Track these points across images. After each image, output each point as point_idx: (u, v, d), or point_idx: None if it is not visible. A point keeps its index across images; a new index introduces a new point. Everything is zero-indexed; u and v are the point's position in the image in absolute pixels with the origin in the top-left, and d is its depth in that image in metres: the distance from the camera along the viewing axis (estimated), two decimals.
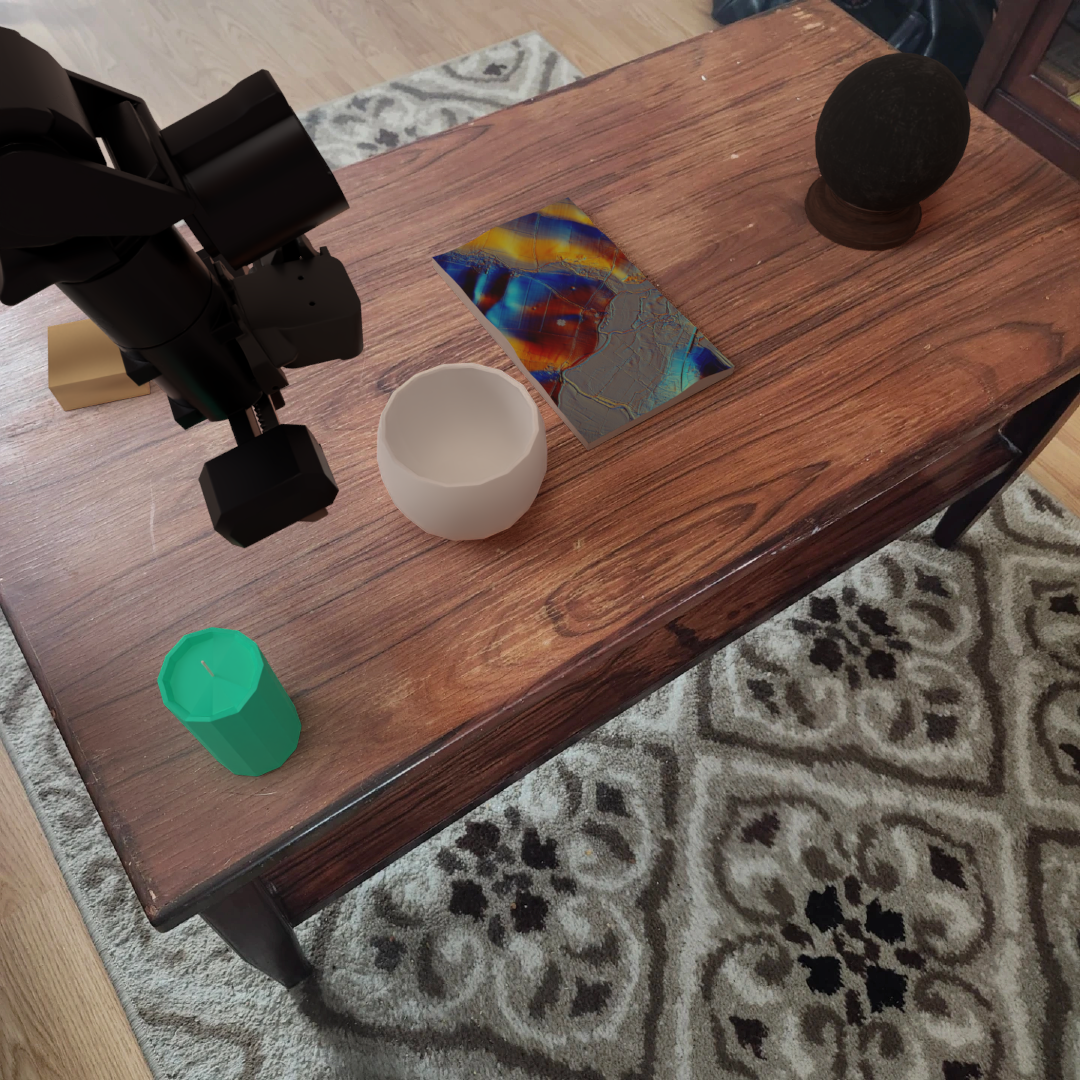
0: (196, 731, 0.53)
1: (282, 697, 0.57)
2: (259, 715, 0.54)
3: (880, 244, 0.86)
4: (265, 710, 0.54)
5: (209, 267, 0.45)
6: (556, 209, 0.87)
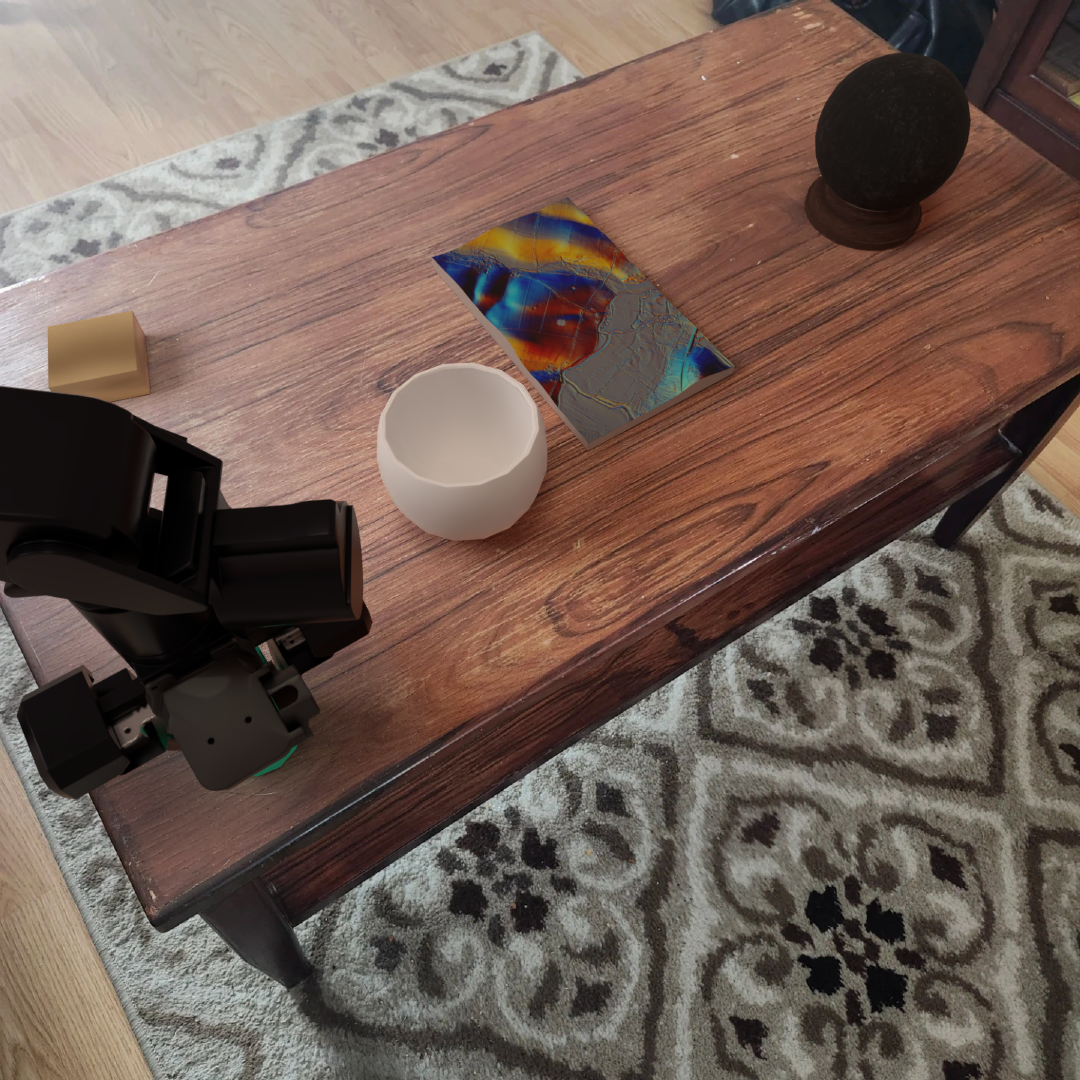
0: None
1: None
2: None
3: (880, 244, 0.86)
4: None
5: (215, 637, 0.45)
6: (556, 209, 0.87)
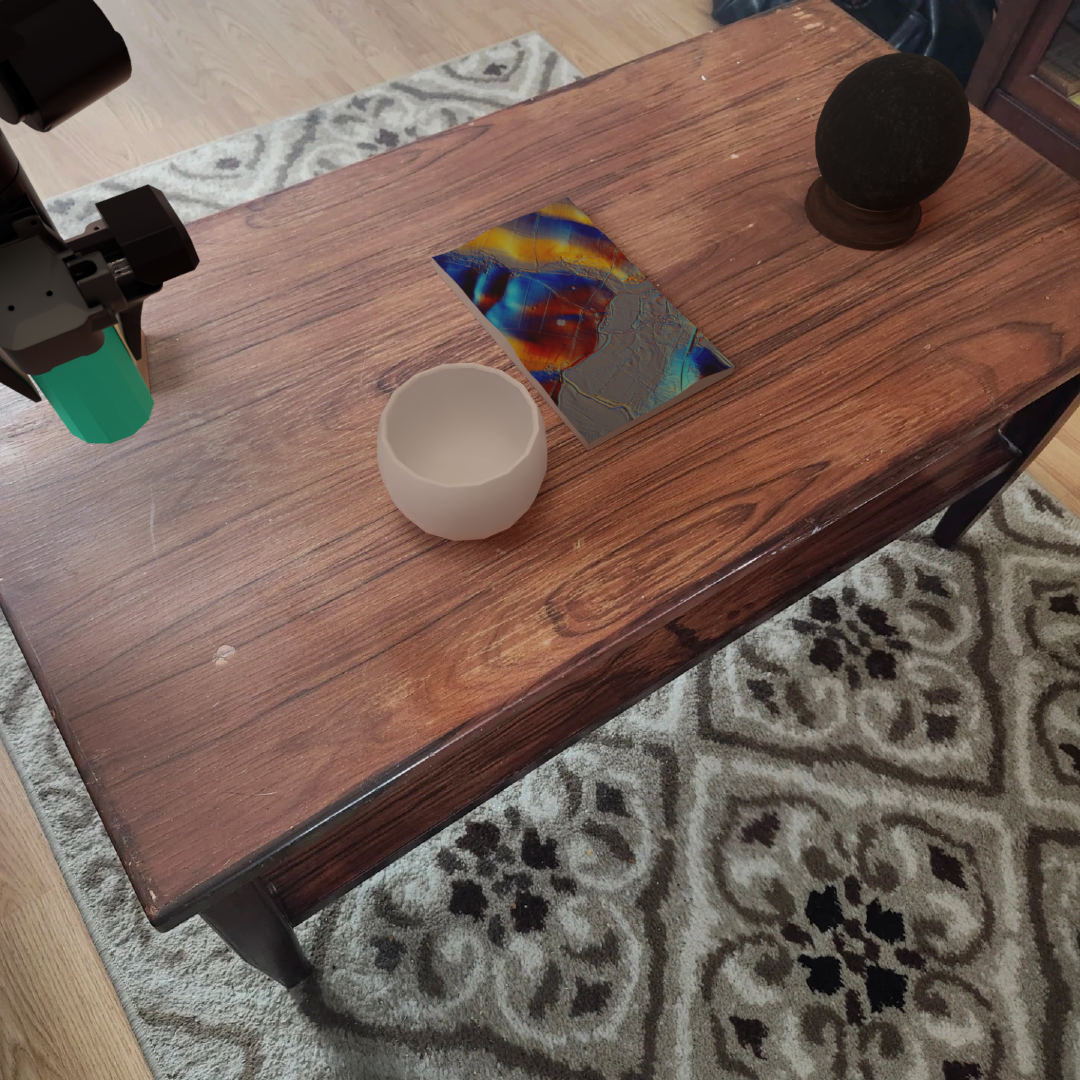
0: None
1: (123, 348, 0.59)
2: None
3: (880, 244, 0.86)
4: None
5: (17, 209, 0.47)
6: (556, 209, 0.87)
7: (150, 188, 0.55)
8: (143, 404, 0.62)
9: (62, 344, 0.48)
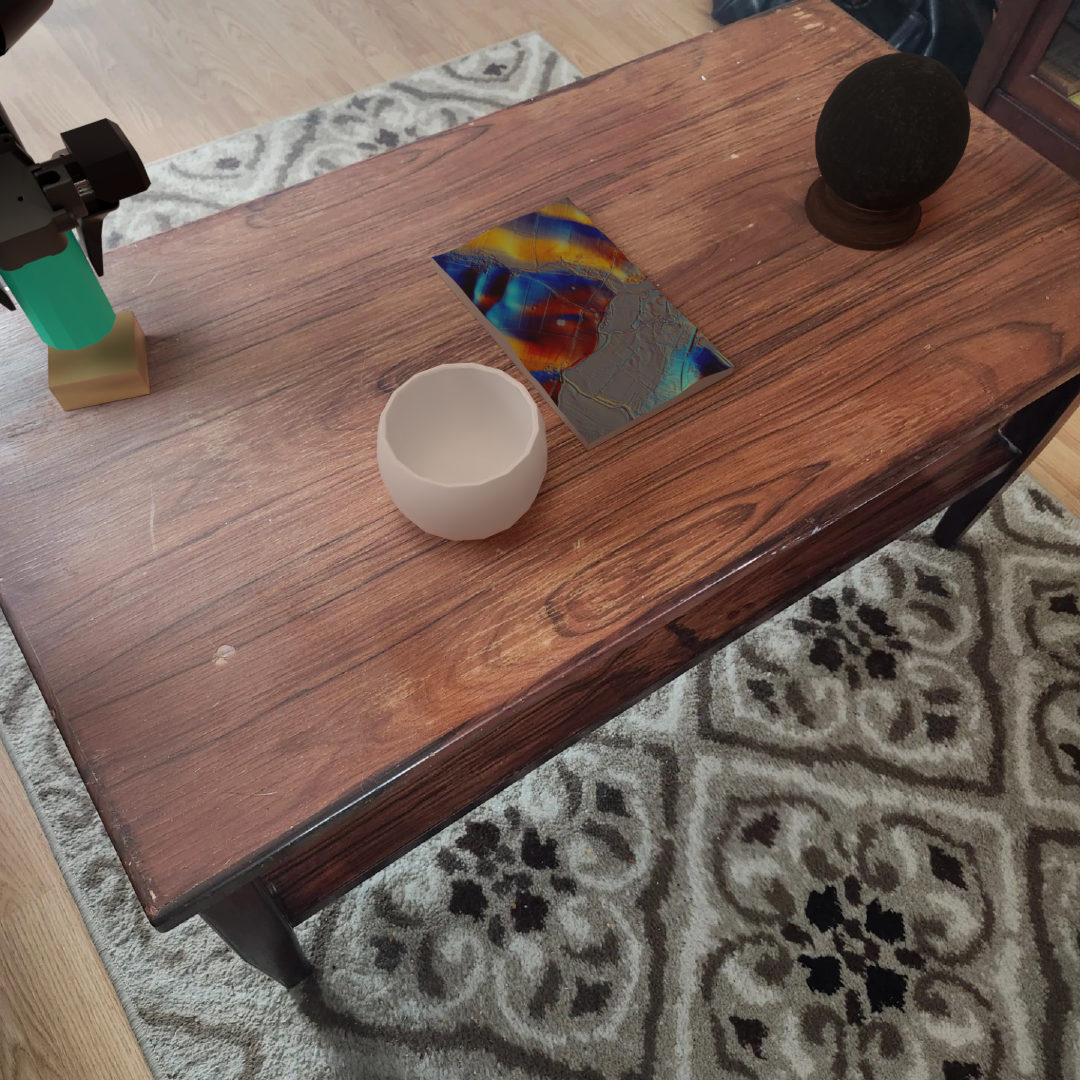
0: None
1: (87, 263, 0.68)
2: (61, 258, 0.65)
3: (880, 244, 0.86)
4: (67, 257, 0.66)
5: None
6: (556, 209, 0.87)
7: (107, 121, 0.65)
8: (106, 315, 0.71)
9: (31, 242, 0.58)
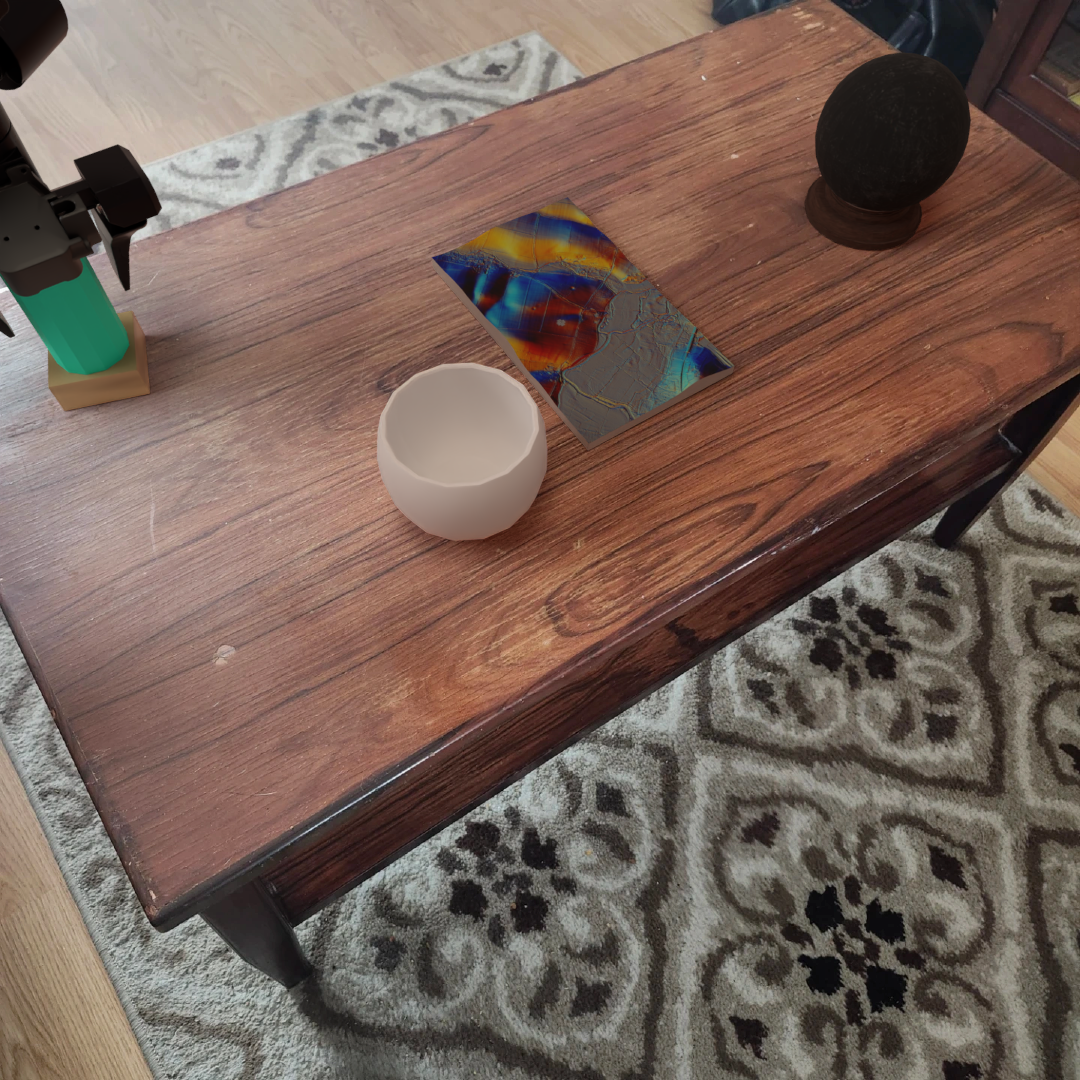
0: (7, 286, 0.67)
1: (93, 310, 0.70)
2: (53, 300, 0.67)
3: (880, 244, 0.86)
4: (61, 301, 0.67)
5: (10, 159, 0.59)
6: (555, 209, 0.87)
7: (119, 147, 0.66)
8: (103, 356, 0.73)
9: (48, 269, 0.59)
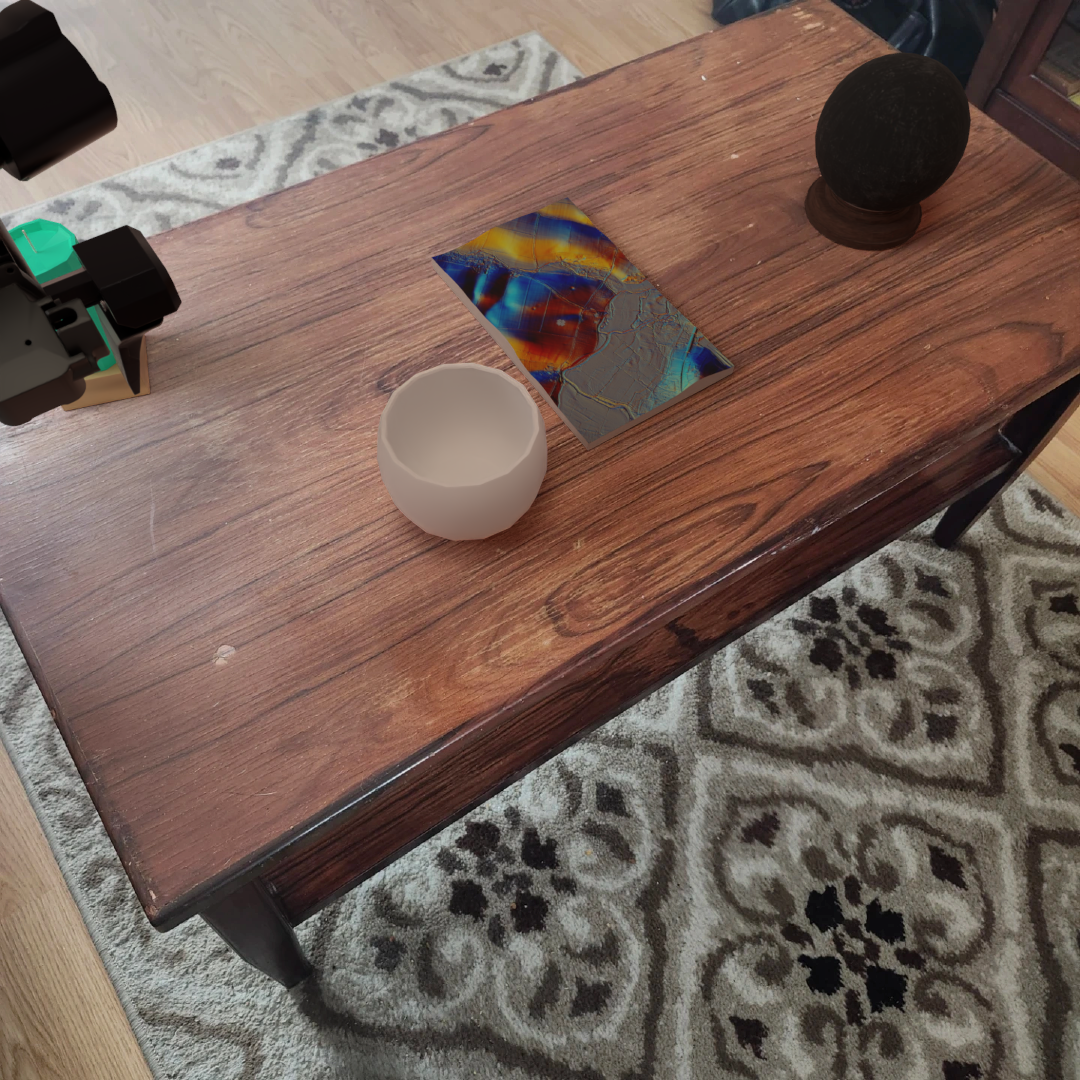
0: None
1: (93, 310, 0.70)
2: None
3: (880, 244, 0.86)
4: None
5: None
6: (555, 209, 0.87)
7: (128, 228, 0.54)
8: None
9: (42, 394, 0.47)
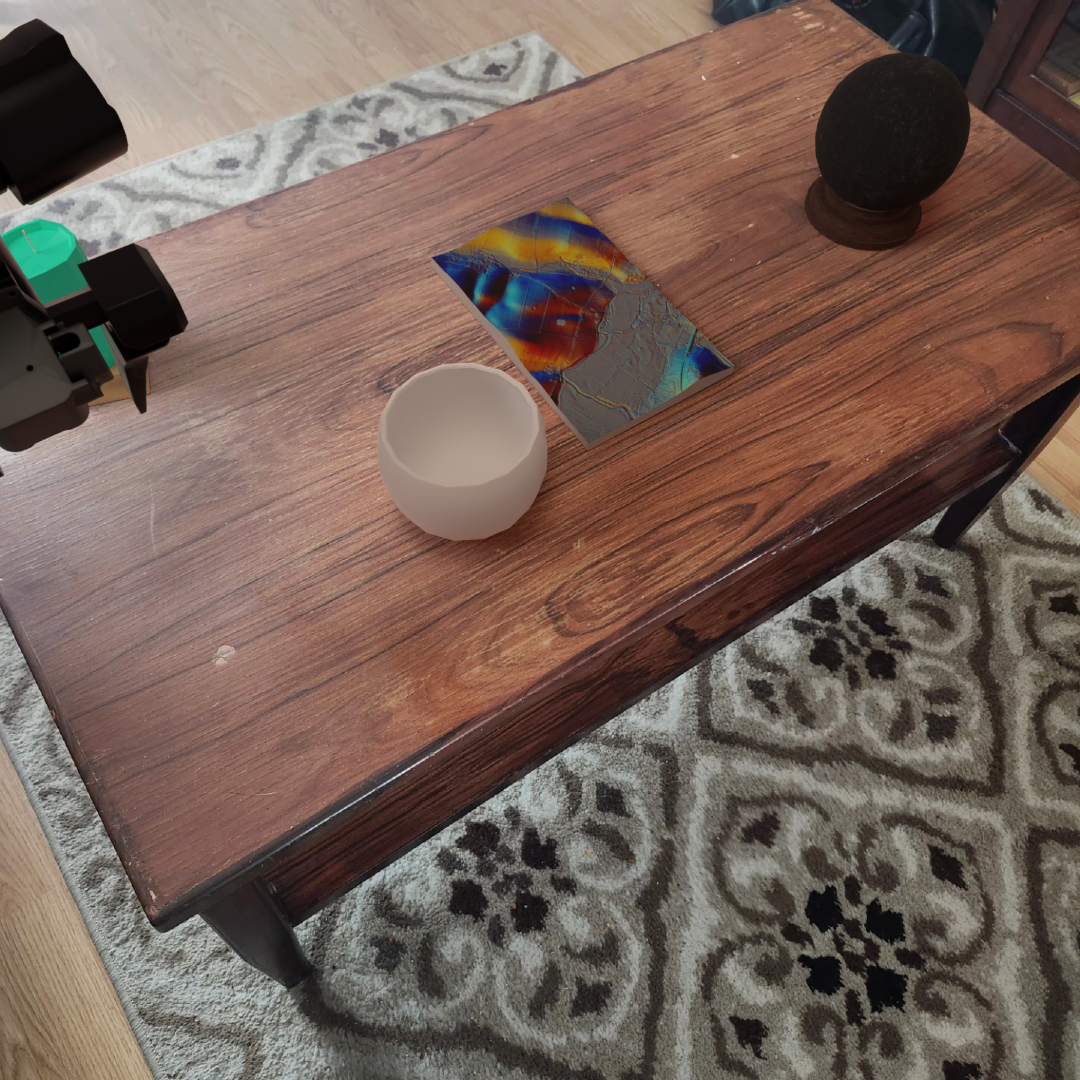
0: None
1: None
2: None
3: (880, 244, 0.86)
4: None
5: None
6: (555, 209, 0.87)
7: (135, 247, 0.53)
8: (103, 356, 0.73)
9: (44, 421, 0.46)
